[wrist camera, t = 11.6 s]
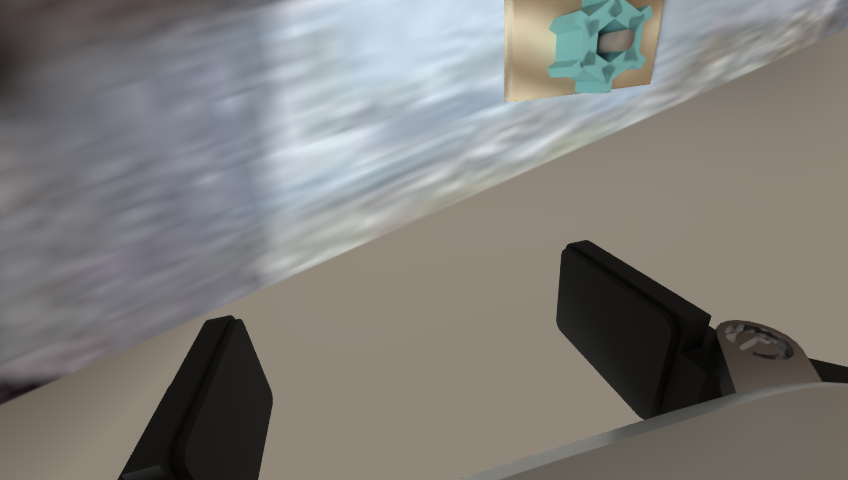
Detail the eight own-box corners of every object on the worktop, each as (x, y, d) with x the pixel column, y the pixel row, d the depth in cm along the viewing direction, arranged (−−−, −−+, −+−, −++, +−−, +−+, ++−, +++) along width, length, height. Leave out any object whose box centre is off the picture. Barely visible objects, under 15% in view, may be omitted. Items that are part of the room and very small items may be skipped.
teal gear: (550, -3, 32) (577, -14, 28) (623, -8, 33) (658, -20, 30) (545, 96, 35) (568, 97, 32) (611, 87, 37) (641, 88, 33)
